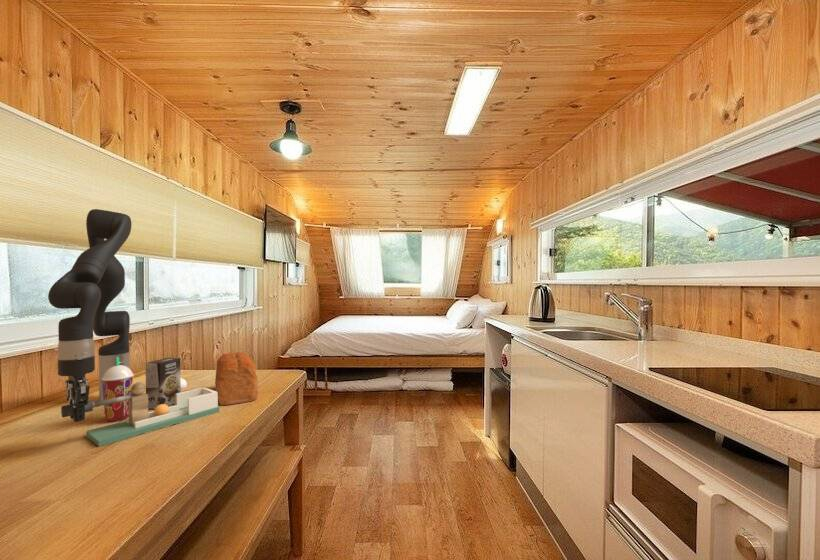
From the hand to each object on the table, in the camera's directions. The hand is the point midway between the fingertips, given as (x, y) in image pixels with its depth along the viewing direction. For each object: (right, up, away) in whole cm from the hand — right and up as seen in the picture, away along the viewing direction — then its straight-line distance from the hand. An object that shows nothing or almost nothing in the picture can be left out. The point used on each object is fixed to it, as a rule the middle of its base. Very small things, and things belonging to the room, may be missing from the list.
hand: (77, 419), depth 101 cm
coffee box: (+2, -7, +33) cm, 33 cm away
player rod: (+4, -5, +5) cm, 8 cm away
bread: (+22, -7, +44) cm, 50 cm away
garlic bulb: (-6, -7, +54) cm, 54 cm away
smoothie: (-4, -7, +20) cm, 21 cm away
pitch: (+12, -7, +15) cm, 20 cm away
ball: (+12, -3, +16) cm, 20 cm away
